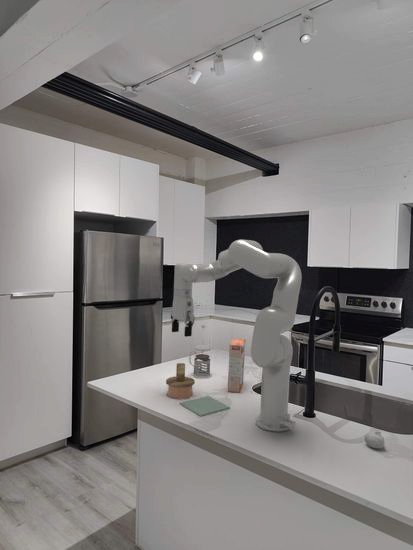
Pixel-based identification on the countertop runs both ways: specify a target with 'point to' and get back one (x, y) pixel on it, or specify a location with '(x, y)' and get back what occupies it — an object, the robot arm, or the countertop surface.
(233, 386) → the cracker box
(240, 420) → the countertop surface
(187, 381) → the lid
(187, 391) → the bowl
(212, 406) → the mat
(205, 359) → the french press
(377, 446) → the garlic
